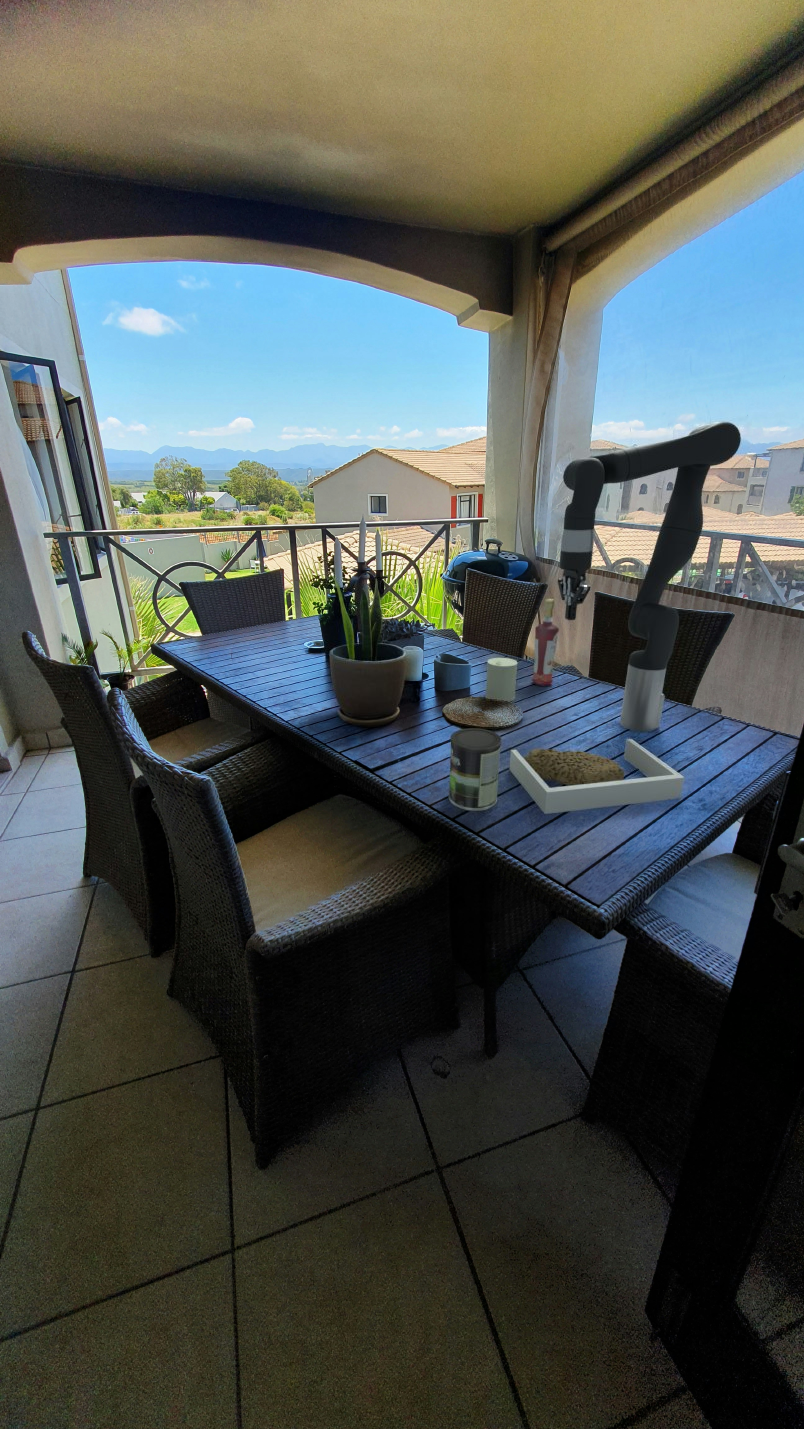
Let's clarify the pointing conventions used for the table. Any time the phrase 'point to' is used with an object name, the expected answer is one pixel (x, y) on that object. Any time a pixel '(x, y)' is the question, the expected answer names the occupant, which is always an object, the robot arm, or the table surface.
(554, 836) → the table surface
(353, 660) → the potted plant
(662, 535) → the robot arm
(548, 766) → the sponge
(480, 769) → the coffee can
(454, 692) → the table surface
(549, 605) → the liquor
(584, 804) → the box
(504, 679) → the pillar candle
